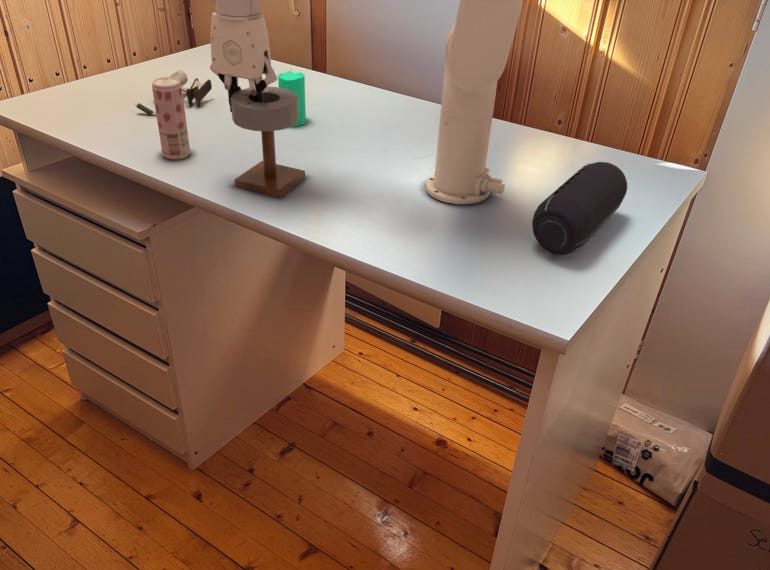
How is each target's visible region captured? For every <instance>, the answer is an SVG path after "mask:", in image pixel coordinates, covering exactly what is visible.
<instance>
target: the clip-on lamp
mask: <svg viewBox="0 0 770 570" xmlns="http://www.w3.org/2000/svg"><path fill="white" fill-rule="evenodd" d="M168 77H173V78H177V79H179V81H180V84H181V87H182V95H183V97H186V98H187V103H188V106H189V107H192V106H193V101H195V103H196V107H198V108H200V107H201V105H202V104H201V103H202V102H201V101H202V100H203V99H204V98H205V97H206V96H207V95H208V94H209V92H211V90H212V87H213V84H212V80H211V79H210V78H209V79H207V80H206V81H204V82H201V83H200V81H199V78H198V77H197V78H194V80H193V82H192V84H191V86H190V88H186V87H183V86H185V85H186V84H187V83H188V81H189V79H188V78H189V77H188V75H187V74H186V72H185V71H183V70H180V69H179V70H176V71H175V72H173V73H172V74H170V75H169V76H168ZM194 99H195V100H194ZM133 105H135V107H136V108H137V109H138V110H140V111H142V112H144V113H145V114H147V115H149V116H152V115H153V116H156V113H155V112H154V110H152V109H150V108H148V107H147V106H146V105H145V106H144V105H143V104H142V103H140V102H138V103H136V102H134V103H133Z"/></svg>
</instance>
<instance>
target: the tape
mask: <svg viewBox="0 0 770 570" xmlns="http://www.w3.org/2000/svg"><path fill="white" fill-rule="evenodd" d="M261 93H262V103H258V102H253V101H251V100H250V99H249V97H248V96H249V95H250V94H251V91H250V87H246V88H241V90H239V91H237V92H236V93H234V94H233V95H232V97H231V109H232V112H231V119H232V122H233V123H234V125H235V126H238V127H239V128H241V129H244V130H249V131H253V132H261V131H274V132H275V131H276V132H277V131H282V130H286V129H290V128H292V127H294V126H293V125H295V124H296V123H297V121H298V118H299V113H298V96H297V95H296V94H295V93H294V92H292V91H290V90H288V89H283V88H279V86H267V87H266V88H265V89H264V91H262V92H261Z"/></svg>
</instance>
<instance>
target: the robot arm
mask: <svg viewBox="0 0 770 570" xmlns="http://www.w3.org/2000/svg"><path fill="white" fill-rule="evenodd" d="M523 2H524V0H459V5H458V9H457V14H456V19H455V22H454V24H453V25H452V27H451V29H450V30H449V33H448V35H447V38H446V43H445V50H444V51H445V53H444V69H443V82H442V83H443V84H442V92H441V93H442V94H441V106H440V115H439V125H438V136H437V146H436V157H435V167H434V174H432V175H431V176H430V177H428V178H427V180H426V181H425V191H426V193H427V194H428V195H429V196H430V197H432V198H433V199H435V200H437V201H439V202H443V203H447V204H453V205H472V204H477V203H481V202H483V201H485V200H486V199H487V198H488V197H489V196H490V194H491V192H492V193H493V194H497V195H503V194H504V192H505V187H506V184H505V183H503V179H502V178H497V177H492V176H491V175H489V174H490V168H488V167H486V165H487V161H488V160H487V159H488V152H489V145H490V139H491V138H490V137H491V130H492V123H493V116H494V110H495V102H496V96H497V95H496V94H497V88H498V81H499V80H500V78H501V77H502V75H503V73H504V70H505V68H506V65H507V63H508V59H509V55H510V51H511V48H512V45H513V41H514V38H515V34H516V30H517V27H518V22H519V18H520V15H521V12H522V7H523ZM210 3H211V4H215V5H214V6H215V11H213V12H212V14H211V15H212V16H211V21H210V22H211V23H210V59H211V64H210V66H209V70H210V71H211V72H212V73H213V74H214V75H216V76H217V77H218V78H219V80H220V81H221V82H222V84H223V85H224V86H223V87H224V89H225V90H226V91H227V96H228V97H227V98H228V105H229V112H230V113H232V109H231V97H232V95H233V94H234V93H236V92H237V91H239V90H242V87H241V86H240V85H239V79H245V80H248V86H249V88H250V91H251V94H250V95H249V96H248V97H249V99H250V100H251V101H253V102H258V103H262V93H261V92H262V91H264V89H265V88H266V87H269V85H271V84H273V83H275V82H276V81H278V75H277V74H276V73H275V70H274V68H273V66H272V56H271V48H270V39H269V32H268V27H267V24H266V20H265V16H264V14H261V13H262V12H261V0H210ZM263 75H264V76H265V78H263Z"/></svg>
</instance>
